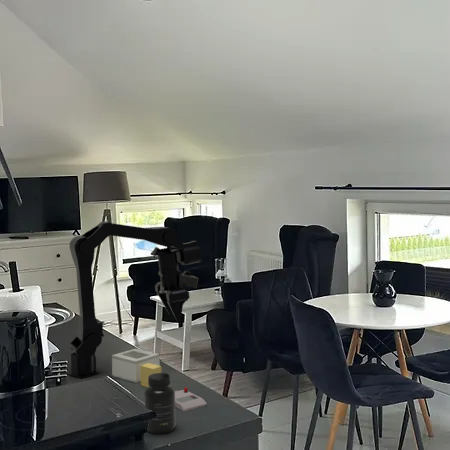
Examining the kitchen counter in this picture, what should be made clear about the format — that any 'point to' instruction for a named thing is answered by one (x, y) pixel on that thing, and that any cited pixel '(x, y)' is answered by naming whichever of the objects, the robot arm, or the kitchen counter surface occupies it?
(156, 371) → the yellow rectangular block
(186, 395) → the white control pad
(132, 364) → the coin box
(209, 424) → the kitchen counter surface
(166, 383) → the supplement bottle
